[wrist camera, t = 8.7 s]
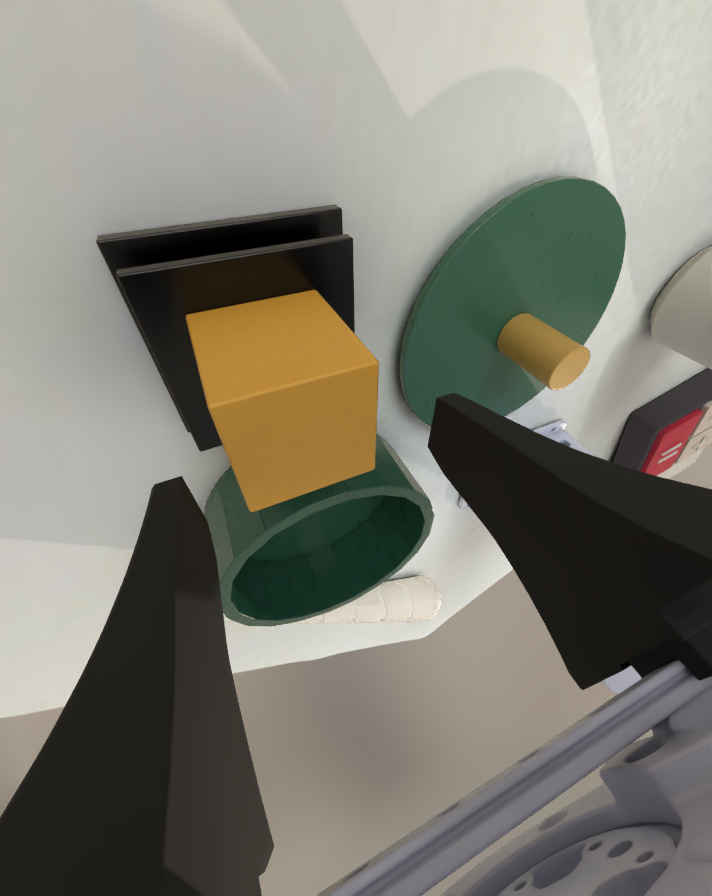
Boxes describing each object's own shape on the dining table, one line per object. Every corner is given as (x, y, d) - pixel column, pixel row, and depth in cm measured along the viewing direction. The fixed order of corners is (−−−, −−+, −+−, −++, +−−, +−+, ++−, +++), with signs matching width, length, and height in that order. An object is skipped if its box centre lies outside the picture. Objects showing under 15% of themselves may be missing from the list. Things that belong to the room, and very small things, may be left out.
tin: (402, 398, 22) (450, 454, 19) (390, 519, 32) (420, 570, 28) (167, 468, 18) (177, 553, 15) (235, 581, 28) (250, 648, 25)
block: (316, 288, 13) (380, 361, 9) (325, 389, 16) (376, 470, 13) (184, 313, 11) (207, 406, 8) (222, 418, 15) (250, 514, 11)
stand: (335, 204, 13) (364, 222, 12) (344, 381, 19) (363, 410, 18) (96, 235, 11) (91, 262, 10) (186, 425, 17) (193, 461, 15)
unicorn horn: (240, 586, 29) (254, 647, 26) (429, 567, 44) (451, 604, 41) (219, 618, 31) (230, 678, 28) (406, 589, 46) (426, 626, 43)
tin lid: (657, 160, 18) (774, 179, 15) (550, 390, 28) (605, 432, 25) (405, 192, 14) (488, 228, 11) (387, 445, 24) (427, 503, 21)
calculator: (758, 379, 35) (699, 465, 47) (712, 358, 38) (666, 444, 49) (664, 435, 35) (627, 509, 46) (624, 410, 38) (598, 485, 49)
